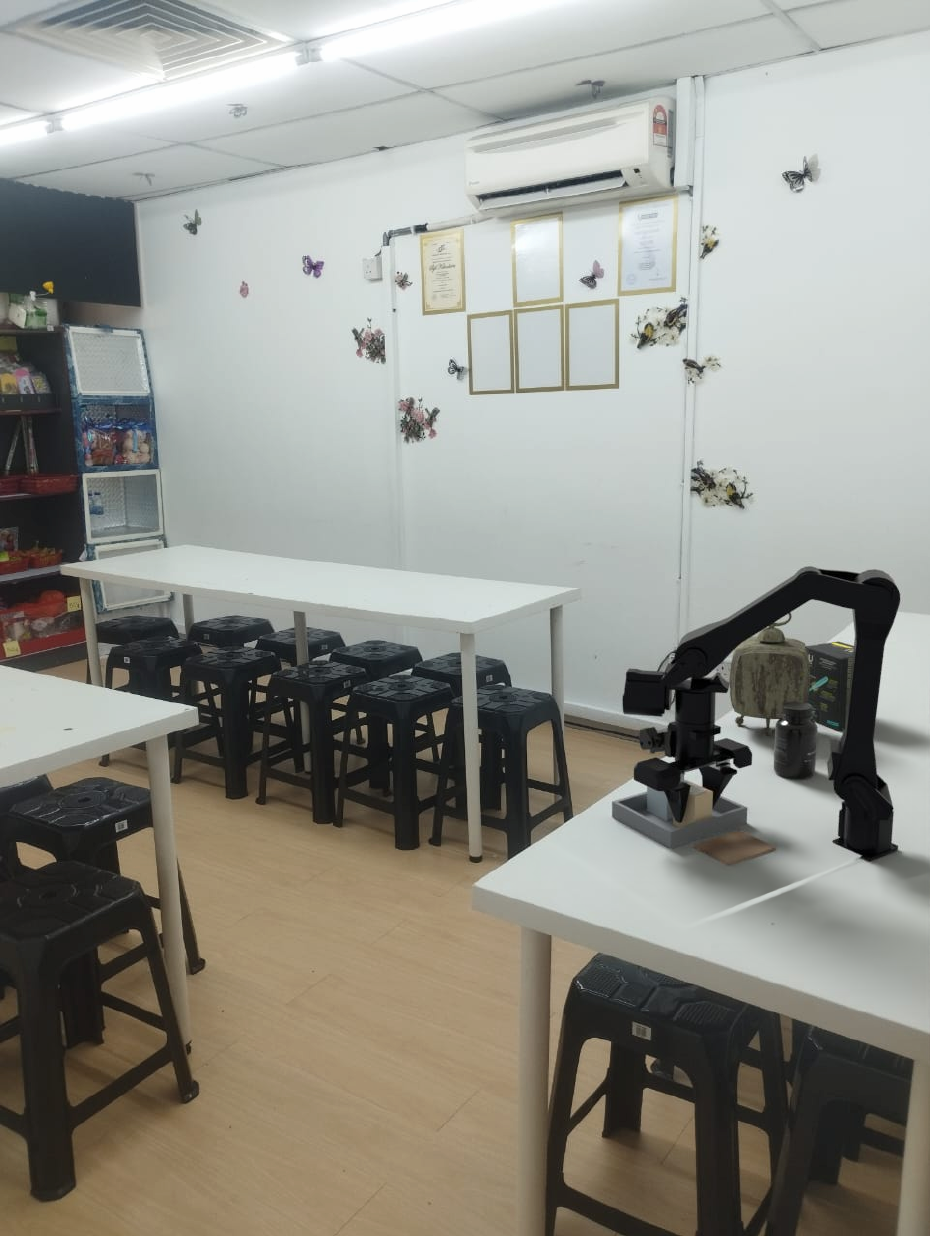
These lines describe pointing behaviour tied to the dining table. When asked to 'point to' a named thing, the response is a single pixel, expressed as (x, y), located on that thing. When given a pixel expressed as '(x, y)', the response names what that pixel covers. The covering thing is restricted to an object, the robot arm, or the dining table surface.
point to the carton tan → (697, 805)
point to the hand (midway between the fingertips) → (692, 817)
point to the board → (734, 847)
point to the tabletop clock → (768, 675)
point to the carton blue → (658, 804)
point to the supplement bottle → (795, 742)
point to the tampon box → (830, 682)
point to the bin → (666, 832)
